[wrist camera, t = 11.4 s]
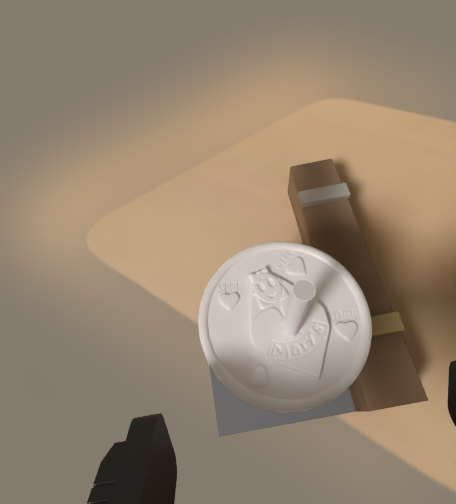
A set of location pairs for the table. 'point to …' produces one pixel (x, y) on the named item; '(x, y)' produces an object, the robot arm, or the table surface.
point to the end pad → (265, 411)
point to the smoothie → (284, 326)
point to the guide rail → (364, 272)
